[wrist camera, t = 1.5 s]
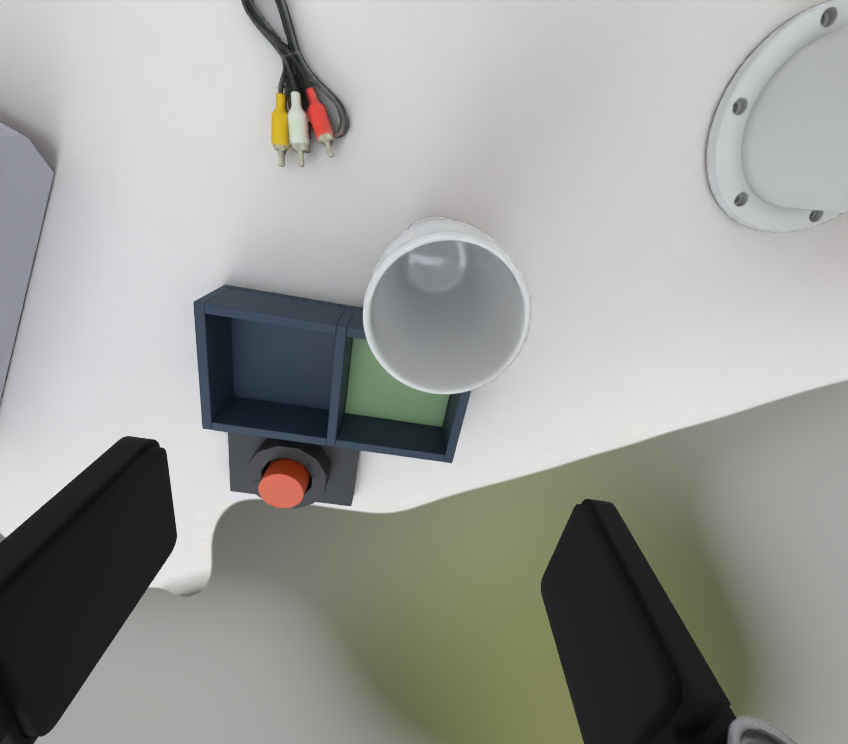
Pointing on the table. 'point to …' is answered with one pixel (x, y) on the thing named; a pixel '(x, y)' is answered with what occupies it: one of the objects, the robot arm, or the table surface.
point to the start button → (284, 483)
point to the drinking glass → (446, 307)
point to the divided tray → (311, 378)
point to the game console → (18, 229)
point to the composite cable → (297, 94)
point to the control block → (324, 464)
